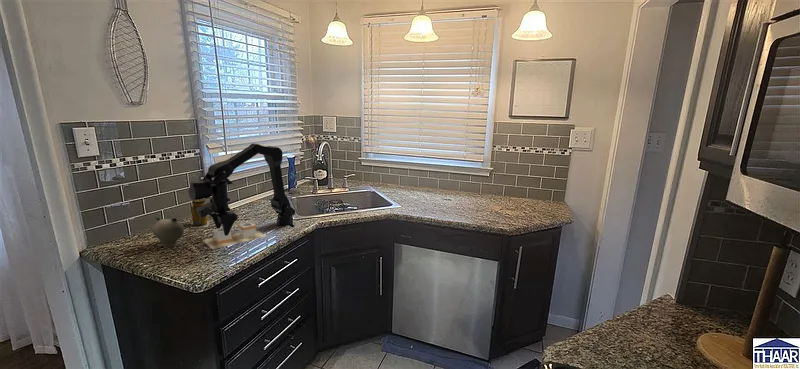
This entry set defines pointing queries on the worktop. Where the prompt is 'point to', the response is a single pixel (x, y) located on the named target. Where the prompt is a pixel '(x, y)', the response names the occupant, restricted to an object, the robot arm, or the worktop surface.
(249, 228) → the seated sleeve
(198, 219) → the condiment
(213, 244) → the pin board
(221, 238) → the sleeve
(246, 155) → the robot arm
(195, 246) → the worktop surface
